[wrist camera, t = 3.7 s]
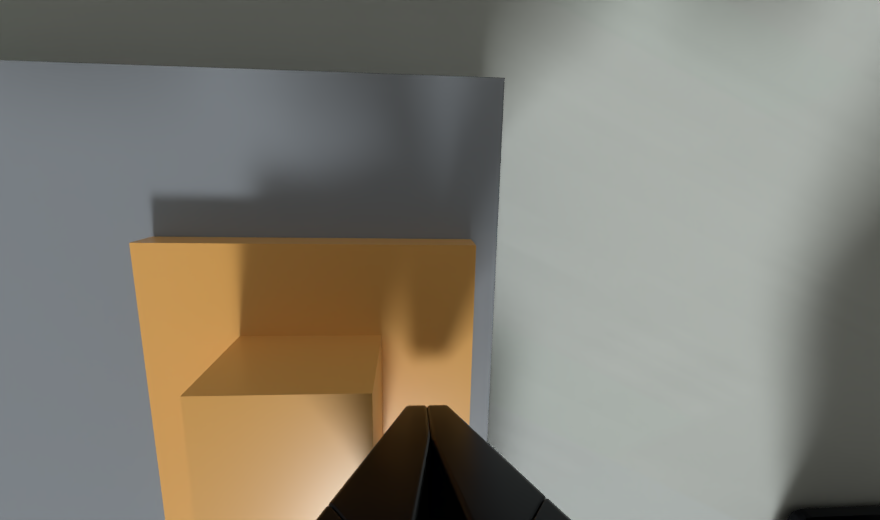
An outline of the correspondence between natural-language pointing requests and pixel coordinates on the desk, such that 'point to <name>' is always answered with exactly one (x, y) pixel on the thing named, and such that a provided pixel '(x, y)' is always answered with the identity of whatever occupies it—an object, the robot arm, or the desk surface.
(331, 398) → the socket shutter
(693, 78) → the desk surface
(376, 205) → the socket board
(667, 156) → the desk surface
